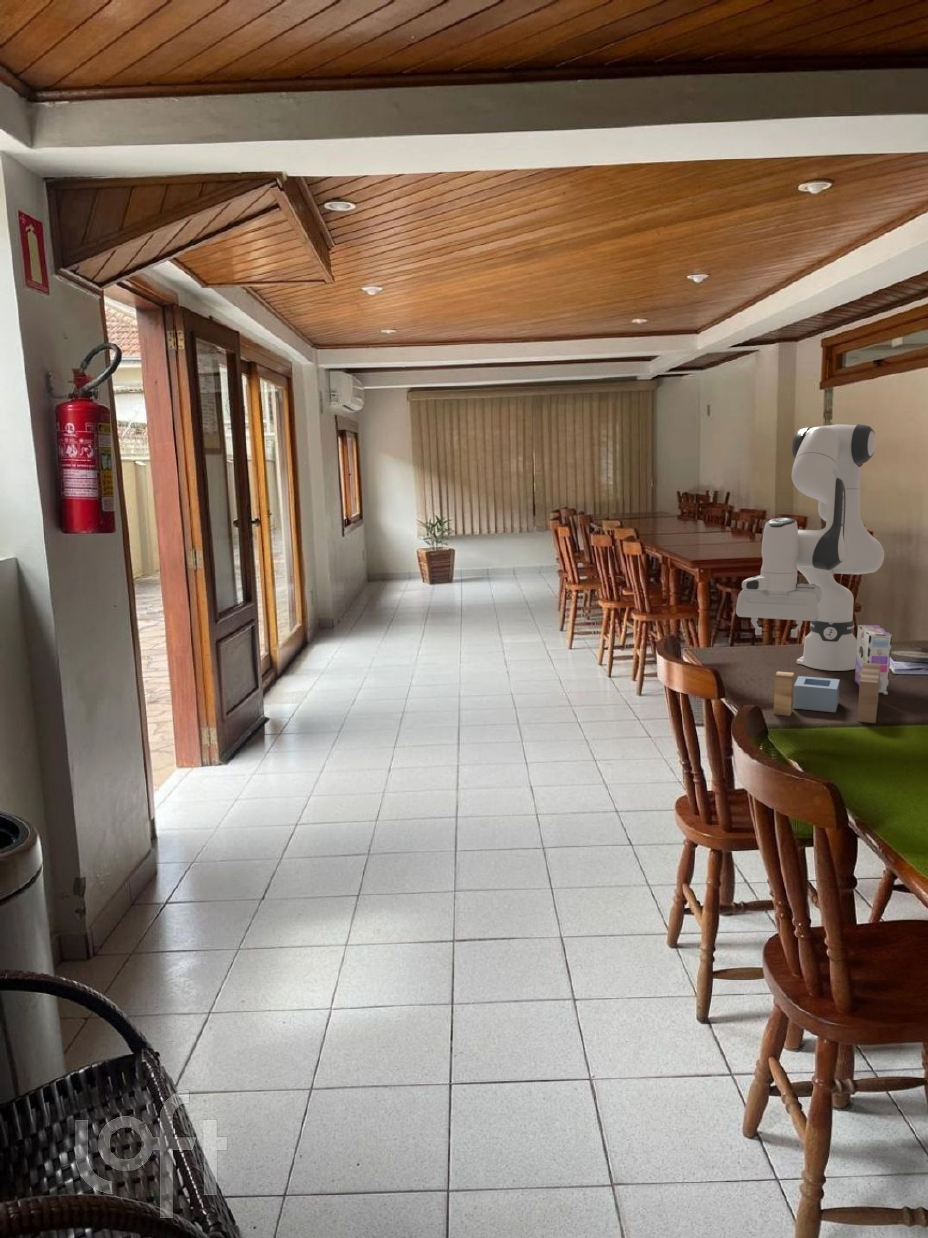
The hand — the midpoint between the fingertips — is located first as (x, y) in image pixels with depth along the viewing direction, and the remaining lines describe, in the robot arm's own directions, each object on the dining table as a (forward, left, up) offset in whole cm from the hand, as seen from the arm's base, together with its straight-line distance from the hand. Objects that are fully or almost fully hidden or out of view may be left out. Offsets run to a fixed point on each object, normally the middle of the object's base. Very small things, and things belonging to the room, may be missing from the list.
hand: (776, 635), depth 231 cm
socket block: (0, +10, -18) cm, 21 cm away
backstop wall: (0, +23, -18) cm, 29 cm away
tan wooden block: (+9, +3, -18) cm, 20 cm away
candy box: (-23, +22, -18) cm, 37 cm away
